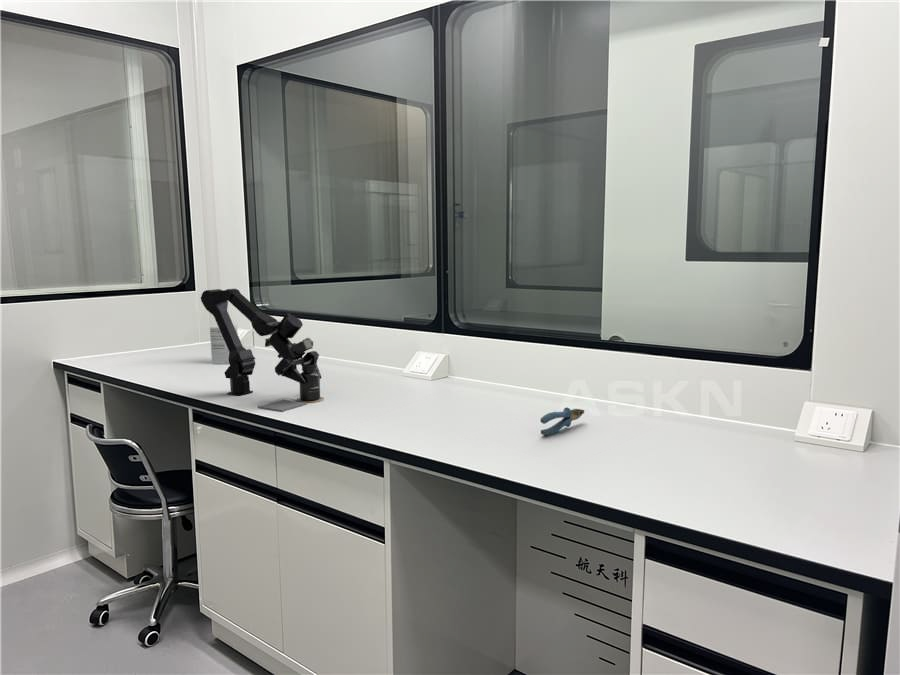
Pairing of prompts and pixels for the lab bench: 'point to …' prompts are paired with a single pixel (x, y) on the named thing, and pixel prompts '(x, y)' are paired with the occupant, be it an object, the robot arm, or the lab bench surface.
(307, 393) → the supplement bottle
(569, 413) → the pliers
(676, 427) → the lab bench surface
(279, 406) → the charcoal mat
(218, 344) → the supplement box
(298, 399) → the walnut coaster
